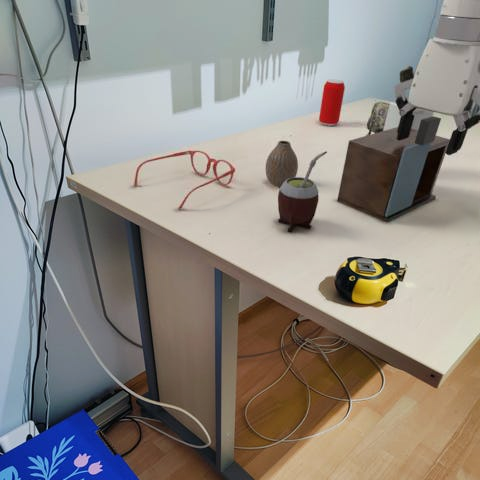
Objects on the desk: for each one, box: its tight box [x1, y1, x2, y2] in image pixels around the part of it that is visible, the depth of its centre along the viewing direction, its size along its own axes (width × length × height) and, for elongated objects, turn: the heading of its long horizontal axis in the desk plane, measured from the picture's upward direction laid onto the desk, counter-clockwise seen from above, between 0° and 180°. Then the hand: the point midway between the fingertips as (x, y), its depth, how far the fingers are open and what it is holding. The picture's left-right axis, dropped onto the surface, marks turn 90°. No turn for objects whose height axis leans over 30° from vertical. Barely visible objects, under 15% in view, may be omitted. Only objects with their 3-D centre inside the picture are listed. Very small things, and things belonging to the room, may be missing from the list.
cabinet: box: [336, 127, 450, 224], centre depth 84 cm, size 12×18×12 cm
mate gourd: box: [277, 150, 328, 233], centre depth 73 cm, size 8×8×15 cm
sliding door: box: [385, 115, 442, 217], centre depth 76 cm, size 2×9×16 cm, turn 131°
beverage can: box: [318, 78, 346, 127], centre depth 128 cm, size 6×6×12 cm
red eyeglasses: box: [133, 150, 236, 210], centre depth 87 cm, size 17×16×5 cm
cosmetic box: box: [383, 102, 435, 131], centre depth 97 cm, size 8×6×15 cm
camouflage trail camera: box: [365, 65, 415, 136], centre depth 105 cm, size 8×11×20 cm
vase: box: [265, 140, 299, 188], centre depth 90 cm, size 7×7×9 cm
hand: (425, 145), depth 76 cm, fingers open, 9 cm apart
